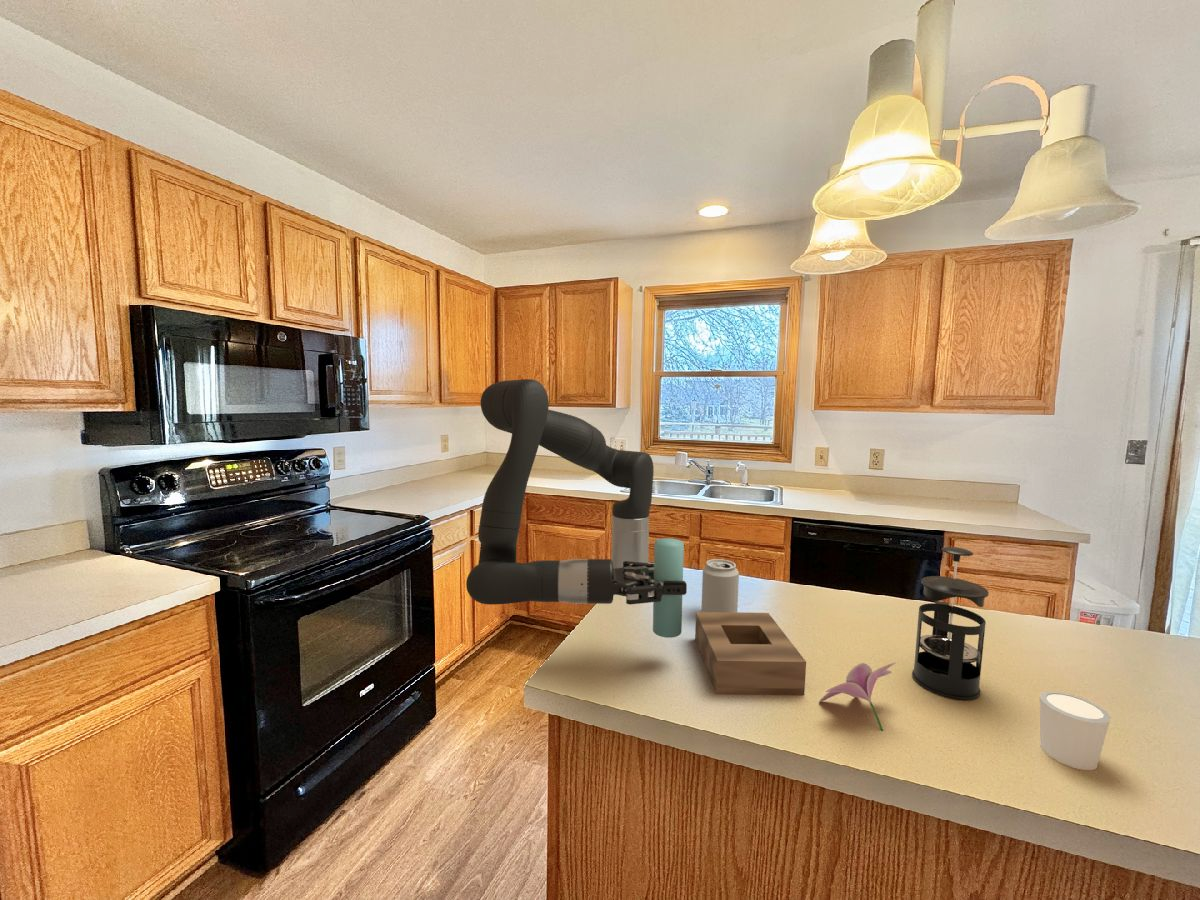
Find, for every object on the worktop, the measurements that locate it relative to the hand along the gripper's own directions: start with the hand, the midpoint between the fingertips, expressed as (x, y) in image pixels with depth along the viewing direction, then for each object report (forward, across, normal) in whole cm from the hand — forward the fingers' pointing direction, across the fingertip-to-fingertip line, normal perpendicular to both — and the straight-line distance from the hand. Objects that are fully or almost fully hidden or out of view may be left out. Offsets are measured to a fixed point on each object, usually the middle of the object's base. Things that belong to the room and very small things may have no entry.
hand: (683, 581), depth 88 cm
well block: (+11, 0, +15) cm, 19 cm away
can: (+11, +18, +16) cm, 27 cm away
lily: (+24, -14, +15) cm, 32 cm away
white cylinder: (+48, -22, +15) cm, 55 cm away
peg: (-3, 0, +9) cm, 9 cm away
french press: (+43, -6, +15) cm, 46 cm away
